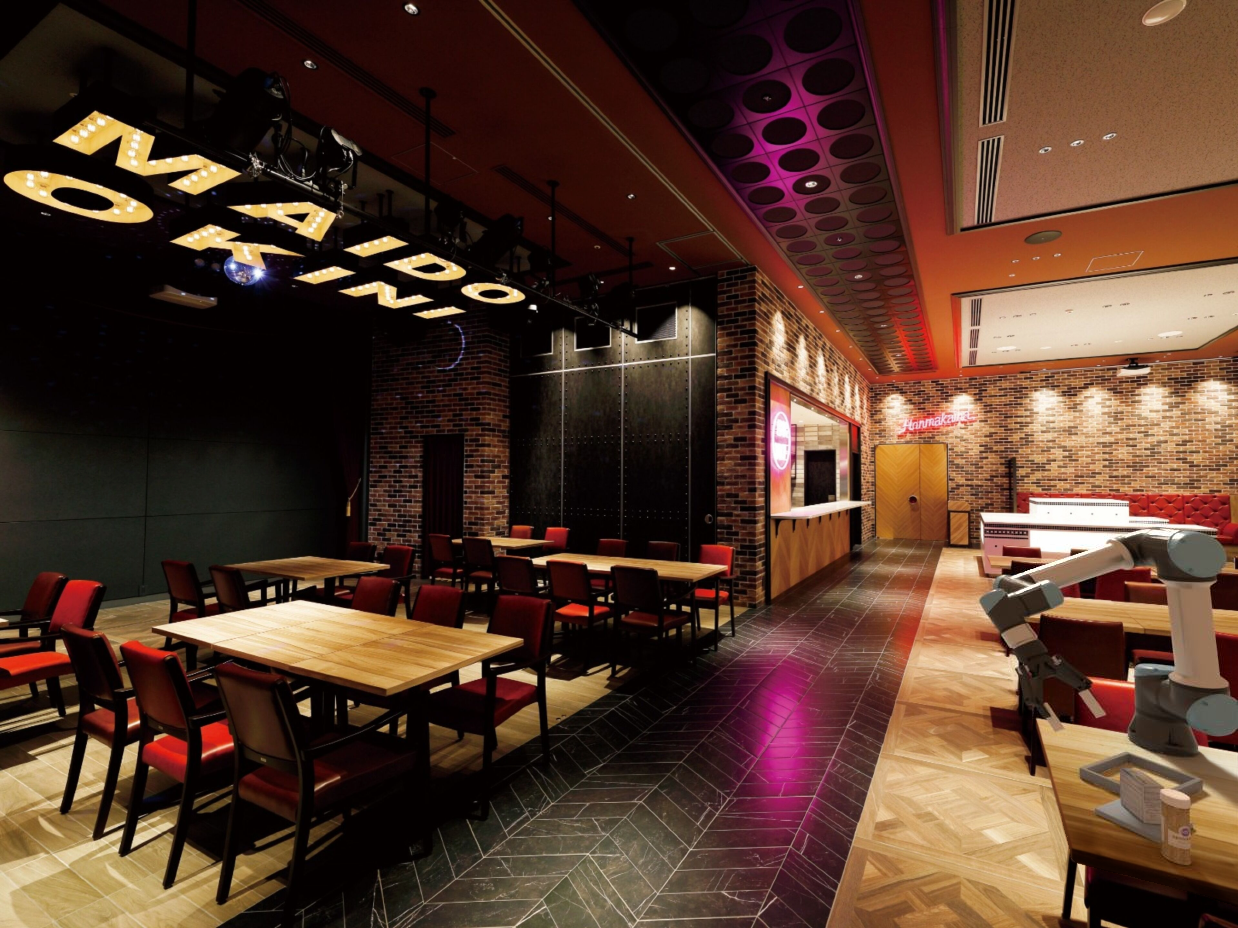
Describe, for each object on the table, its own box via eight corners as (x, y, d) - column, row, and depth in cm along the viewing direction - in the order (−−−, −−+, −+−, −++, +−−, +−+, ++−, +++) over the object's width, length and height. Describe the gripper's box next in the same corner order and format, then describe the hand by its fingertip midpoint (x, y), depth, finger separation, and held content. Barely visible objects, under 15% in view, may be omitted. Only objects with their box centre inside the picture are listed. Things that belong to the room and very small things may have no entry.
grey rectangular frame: (1126, 760, 160) (1126, 751, 160) (1202, 789, 145) (1202, 779, 145) (1079, 777, 151) (1079, 767, 151) (1156, 809, 136) (1155, 799, 136)
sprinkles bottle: (1181, 867, 116) (1180, 801, 116) (1155, 853, 120) (1154, 789, 121) (1197, 864, 117) (1196, 797, 117) (1171, 849, 122) (1170, 786, 122)
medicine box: (1166, 825, 128) (1165, 786, 128) (1143, 823, 129) (1142, 784, 129) (1141, 805, 136) (1140, 768, 136) (1119, 803, 136) (1119, 767, 137)
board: (1128, 799, 140) (1128, 794, 140) (1192, 827, 129) (1192, 822, 129) (1095, 813, 135) (1094, 808, 135) (1159, 843, 124) (1159, 837, 124)
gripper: (1051, 638, 164) (1107, 714, 152) (980, 659, 158) (1032, 739, 146) (1069, 628, 158) (1129, 706, 146) (996, 649, 152) (1052, 732, 140)
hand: (1081, 723), depth 146 cm, fingers open, 13 cm apart
